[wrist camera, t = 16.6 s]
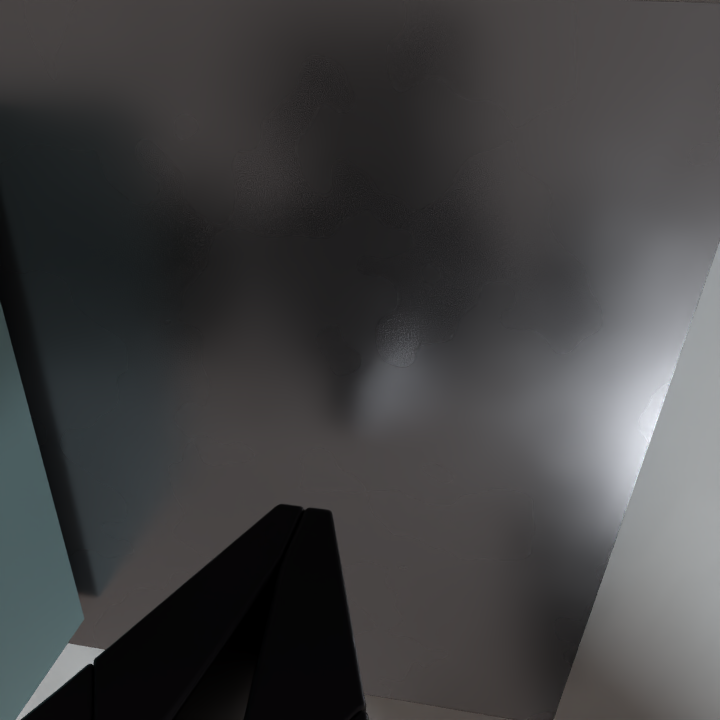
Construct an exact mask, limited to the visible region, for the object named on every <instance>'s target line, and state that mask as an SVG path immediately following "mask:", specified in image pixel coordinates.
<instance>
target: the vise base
mask: <svg viewBox="0 0 720 720" xmlns="http://www.w3.org/2000/svg"><path fill="white" fill-rule="evenodd" d="M719 242H720V3H699V2H670V1H642V0H0V302H1V306H2V310H3V313H4V317H5V321H6V325H7V328H8V332H9V336H10V340H11V344H12V347H13V351H14V355H15V359H16V362H17V366H18V370H19V374H20V377H21V381H22V385H23V389H24V393H25V396H26V400H27V404H28V408H29V411H30V415H31V419H32V423H33V426H34V430H35V434H36V438H37V442H38V445H39V449H40V453H41V457H42V460H43V464H44V468H45V472H46V476H47V479H48V483H49V487H50V491H51V494H52V498H53V502H54V506H55V509H56V513H57V517H58V521H59V525H60V528H61V532H62V536H63V540H64V543H65V547H66V551H67V555H68V558H69V562H70V566H71V570H72V574H73V577H74V581H75V585H76V589H77V592H78V596H79V600H80V604H81V608H82V611H83V615H84V620H83V622H82V623H81V625H80V626H79V627H78V629H77V630H76V632H75V633H74V635H73V636H72V638H71V639H70V641H69V642H68V643H70V644H76V645H82V646H88V647H94V648H100V649H105V650H106V649H107V648H108V647H109V646H111V645H112V644H113V643H114V642H115V641H117V640H118V639H119V638H120V637H121V636H122V635H124V634H125V633H126V632H127V631H128V630H130V629H131V628H132V627H133V626H134V625H136V624H137V623H138V622H139V621H140V620H141V619H143V618H144V617H145V616H146V615H147V614H149V613H150V612H151V611H152V610H153V609H154V608H156V607H157V606H158V605H159V604H160V603H162V602H163V601H164V600H165V599H166V598H167V597H169V596H170V595H171V594H172V593H173V592H175V591H176V590H177V589H178V588H179V587H181V586H182V585H183V584H184V583H185V582H186V581H188V580H189V579H190V578H191V577H192V576H194V575H195V574H196V573H197V572H198V571H199V570H201V569H202V568H203V567H204V566H205V565H207V564H208V563H209V562H210V561H211V560H212V559H214V558H215V557H216V556H217V555H218V554H220V553H221V552H222V551H223V550H224V549H226V548H227V547H228V546H229V545H230V544H231V543H233V542H234V541H235V540H236V539H237V538H239V537H240V536H241V535H242V534H243V533H244V532H246V531H247V530H248V529H249V528H250V527H252V526H253V525H254V524H255V523H256V522H257V521H259V520H260V519H261V518H262V517H263V516H265V515H266V514H267V513H268V512H269V511H271V510H272V509H273V508H274V507H275V506H277V505H279V504H289V505H297V506H302V507H303V508H304V509H307V508H309V507H312V508H320V509H327V510H330V511H331V512H332V514H333V519H334V525H335V530H336V536H337V542H338V548H339V553H340V559H341V565H342V571H343V576H344V582H345V588H346V594H347V599H348V605H349V611H350V617H351V622H352V628H353V634H354V639H355V645H356V651H357V657H358V662H359V668H360V674H361V680H362V685H363V691H364V694H368V695H374V696H379V697H385V698H391V699H397V700H403V701H409V702H414V703H420V704H426V705H432V706H438V707H444V708H449V709H455V710H461V711H467V712H473V713H479V714H484V715H490V716H496V717H502V718H508V719H514V720H553V719H554V716H555V713H556V710H557V707H558V705H559V702H560V699H561V696H562V693H563V690H564V687H565V684H566V682H567V679H568V676H569V673H570V670H571V667H572V664H573V661H574V659H575V656H576V653H577V650H578V647H579V644H580V641H581V638H582V636H583V633H584V630H585V627H586V624H587V621H588V618H589V615H590V613H591V610H592V607H593V604H594V601H595V598H596V595H597V592H598V590H599V587H600V584H601V581H602V578H603V575H604V572H605V569H606V567H607V564H608V561H609V558H610V555H611V552H612V549H613V546H614V544H615V541H616V538H617V535H618V532H619V529H620V526H621V523H622V520H623V518H624V515H625V512H626V509H627V506H628V503H629V500H630V497H631V495H632V492H633V489H634V486H635V483H636V480H637V477H638V474H639V472H640V469H641V466H642V463H643V460H644V457H645V454H646V451H647V449H648V446H649V443H650V440H651V437H652V434H653V431H654V428H655V426H656V423H657V420H658V417H659V414H660V411H661V408H662V405H663V403H664V400H665V397H666V394H667V391H668V388H669V385H670V382H671V380H672V377H673V374H674V371H675V368H676V365H677V362H678V359H679V357H680V354H681V351H682V348H683V345H684V342H685V339H686V336H687V334H688V331H689V328H690V325H691V322H692V319H693V316H694V313H695V311H696V308H697V305H698V302H699V299H700V296H701V293H702V290H703V288H704V285H705V282H706V279H707V276H708V273H709V270H710V267H711V265H712V262H713V259H714V256H715V253H716V250H717V247H718V244H719Z"/></svg>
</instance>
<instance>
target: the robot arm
mask: <svg viewBox="0 0 720 720" xmlns="http://www.w3.org/2000/svg"><path fill="white" fill-rule="evenodd" d="M21 720H369V718H368V714H367V712H366V703H365V697H364V691H363V685H362V680H361V674H360V668H359V662H358V657H357V651H356V645H355V639H354V634H353V628H352V622H351V617H350V611H349V605H348V599H347V594H346V588H345V582H344V576H343V571H342V565H341V559H340V553H339V548H338V542H337V536H336V530H335V525H334V519H333V514H332V512H331V511H330V510H327V509H320V508H312V507H309V508H307V509H304V508H303V507H302V506H297V505H289V504H279V505H277V506H275V507H274V508H273V509H272V510H271V511H269V512H268V513H267V514H266V515H265V516H263V517H262V518H261V519H260V520H259V521H257V522H256V523H255V524H254V525H253V526H252V527H250V528H249V529H248V530H247V531H246V532H244V533H243V534H242V535H241V536H240V537H239V538H237V539H236V540H235V541H234V542H233V543H231V544H230V545H229V546H228V547H227V548H226V549H224V550H223V551H222V552H221V553H220V554H218V555H217V556H216V557H215V558H214V559H212V560H211V561H210V562H209V563H208V564H207V565H205V566H204V567H203V568H202V569H201V570H199V571H198V572H197V573H196V574H195V575H194V576H192V577H191V578H190V579H189V580H188V581H186V582H185V583H184V584H183V585H182V586H181V587H179V588H178V589H177V590H176V591H175V592H173V593H172V594H171V595H170V596H169V597H167V598H166V599H165V600H164V601H163V602H162V603H160V604H159V605H158V606H157V607H156V608H154V609H153V610H152V611H151V612H150V613H149V614H147V615H146V616H145V617H144V618H143V619H141V620H140V621H139V622H138V623H137V624H136V625H134V626H133V627H132V628H131V629H130V630H128V631H127V632H126V633H125V634H124V635H122V636H121V637H120V638H119V639H118V640H117V641H115V642H114V643H113V644H112V645H111V646H109V647H108V648H107V649H106V650H105V651H104V652H102V653H101V654H100V655H99V656H98V657H96V658H95V660H94V665H92V664H88V665H87V666H85V667H84V668H83V669H82V670H81V671H80V672H78V673H77V674H76V675H75V676H74V677H72V678H71V679H70V680H69V681H68V682H66V683H65V684H64V685H63V686H62V687H60V688H59V689H58V690H57V691H56V692H54V693H53V694H52V695H51V696H49V697H48V698H47V699H46V700H44V701H43V702H42V703H41V704H39V705H38V706H37V707H36V708H35V709H33V710H32V711H31V712H30V713H28V714H27V715H26V716H25V717H23V718H22V719H21Z"/></svg>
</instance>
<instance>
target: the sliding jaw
mask: <svg viewBox="0 0 720 720" xmlns="http://www.w3.org/2000/svg"><path fill="white" fill-rule="evenodd" d="M83 620H84V615H83V611H82V608H81V604H80V600H79V596H78V592H77V589H76V585H75V581H74V577H73V574H72V570H71V566H70V562H69V558H68V555H67V551H66V547H65V543H64V540H63V536H62V532H61V528H60V525H59V521H58V517H57V513H56V509H55V506H54V502H53V498H52V494H51V491H50V487H49V483H48V479H47V476H46V472H45V468H44V464H43V460H42V457H41V453H40V449H39V445H38V442H37V438H36V434H35V430H34V426H33V423H32V419H31V415H30V411H29V408H28V404H27V400H26V396H25V393H24V389H23V385H22V381H21V377H20V374H19V370H18V366H17V362H16V359H15V355H14V351H13V347H12V344H11V340H10V336H9V332H8V328H7V325H6V321H5V317H4V313H3V310H2V306H1V302H0V720H16V718H17V717H18V715H19V714H20V712H21V711H22V709H23V708H24V706H25V705H26V703H27V702H28V701H29V699H30V698H31V696H32V695H33V693H34V692H35V690H36V689H37V687H38V686H39V684H40V683H41V682H42V680H43V679H44V677H45V676H46V674H47V673H48V671H49V670H50V668H51V667H52V665H53V664H54V663H55V661H56V660H57V658H58V657H59V655H60V654H61V652H62V651H63V649H64V648H65V646H66V645H67V644H68V642H69V641H70V639H71V638H72V636H73V635H74V633H75V632H76V630H77V629H78V627H79V626H80V625H81V623H82V622H83Z"/></svg>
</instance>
